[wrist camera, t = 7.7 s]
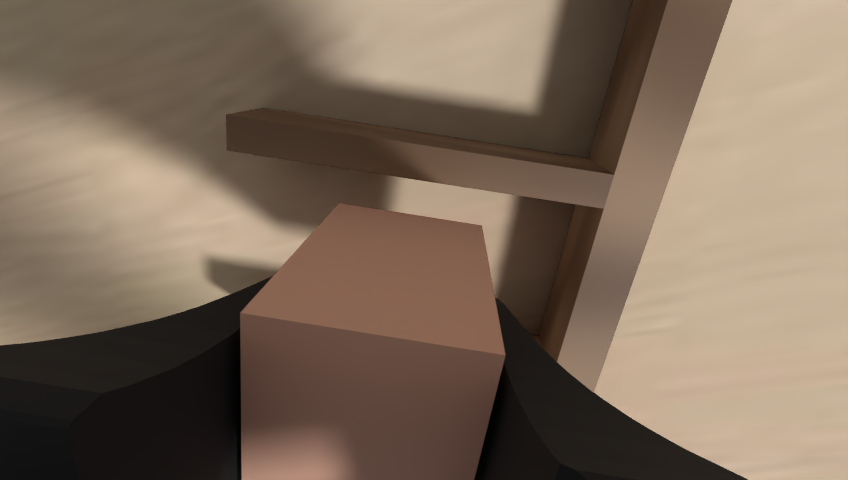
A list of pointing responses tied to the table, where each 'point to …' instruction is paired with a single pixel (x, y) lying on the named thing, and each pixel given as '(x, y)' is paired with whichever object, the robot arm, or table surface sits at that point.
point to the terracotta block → (372, 353)
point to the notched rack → (551, 167)
